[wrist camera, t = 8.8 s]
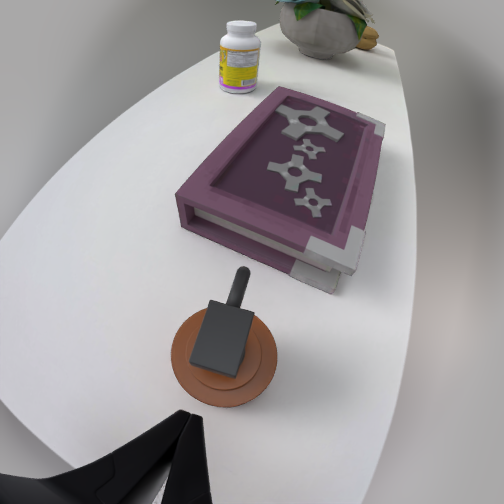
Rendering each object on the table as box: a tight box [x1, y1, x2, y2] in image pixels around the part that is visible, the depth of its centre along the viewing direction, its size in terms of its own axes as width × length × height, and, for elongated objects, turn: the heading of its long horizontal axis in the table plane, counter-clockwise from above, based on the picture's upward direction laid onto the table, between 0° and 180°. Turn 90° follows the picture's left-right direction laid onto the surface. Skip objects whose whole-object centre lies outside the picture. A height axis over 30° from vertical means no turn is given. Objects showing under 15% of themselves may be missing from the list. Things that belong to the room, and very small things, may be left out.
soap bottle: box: [171, 308, 277, 407], centre depth 18 cm, size 6×6×7 cm
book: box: [175, 86, 385, 294], centre depth 31 cm, size 25×16×5 cm, turn 155°
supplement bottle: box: [219, 21, 261, 93], centre depth 39 cm, size 7×7×13 cm
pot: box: [356, 26, 379, 50], centre depth 69 cm, size 12×12×10 cm
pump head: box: [189, 266, 254, 379], centre depth 14 cm, size 6×2×2 cm, turn 165°
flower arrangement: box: [276, 0, 374, 59], centre depth 50 cm, size 25×25×24 cm
